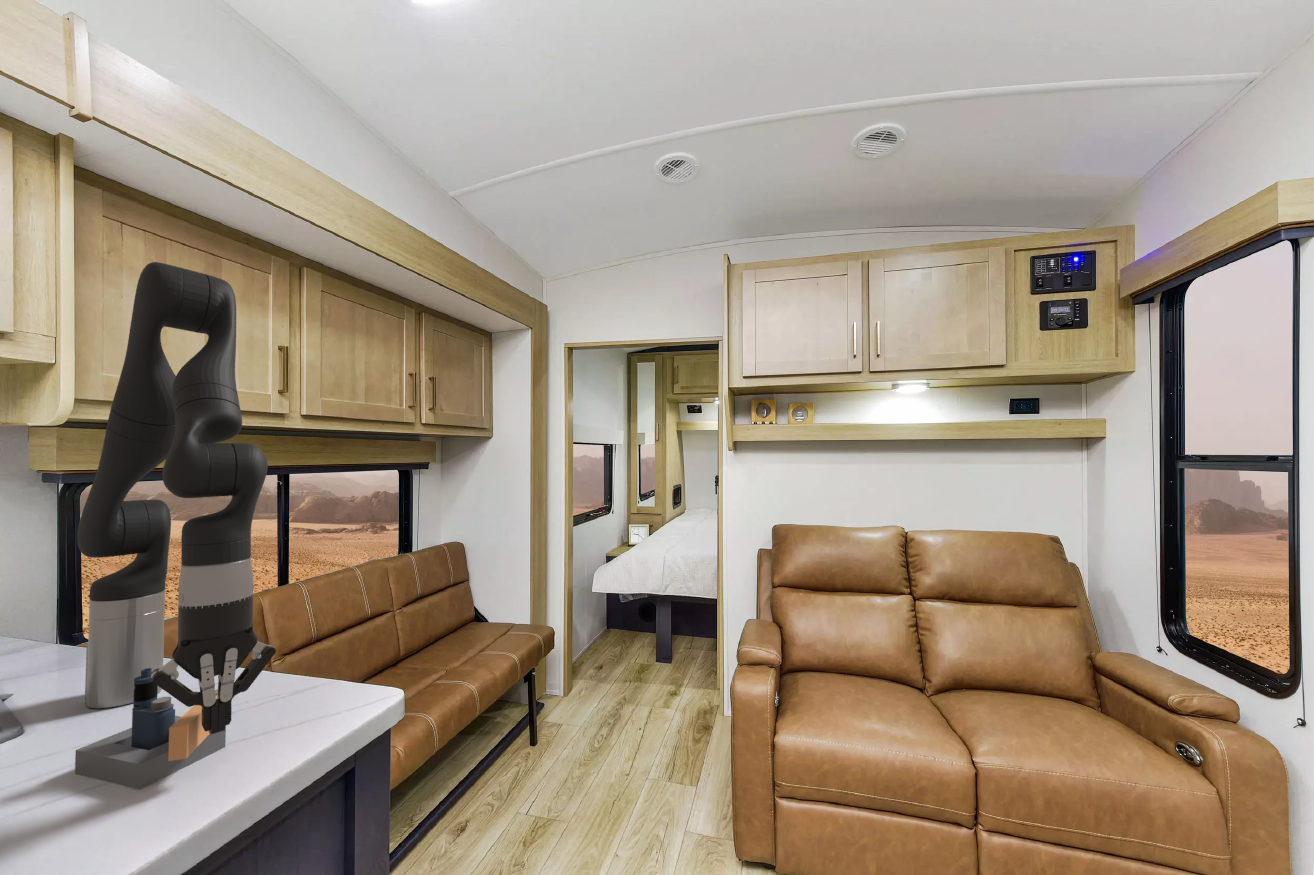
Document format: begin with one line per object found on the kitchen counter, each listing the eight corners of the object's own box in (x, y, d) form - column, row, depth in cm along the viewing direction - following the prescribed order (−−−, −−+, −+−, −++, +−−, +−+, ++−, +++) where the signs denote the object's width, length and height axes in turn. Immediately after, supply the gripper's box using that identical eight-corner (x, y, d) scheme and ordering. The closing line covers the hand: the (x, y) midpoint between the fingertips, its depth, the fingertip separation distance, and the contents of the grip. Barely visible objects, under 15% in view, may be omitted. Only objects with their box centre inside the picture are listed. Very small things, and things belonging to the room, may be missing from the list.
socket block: (74, 773, 69) (75, 748, 69) (167, 733, 79) (168, 711, 79) (139, 789, 65) (140, 763, 66) (227, 745, 75) (228, 722, 75)
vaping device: (146, 754, 73) (149, 665, 74) (178, 757, 72) (181, 667, 73) (125, 764, 71) (127, 672, 71) (157, 768, 70) (160, 675, 70)
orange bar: (207, 719, 76) (208, 690, 76) (228, 716, 77) (229, 688, 77) (165, 761, 65) (166, 728, 65) (189, 758, 66) (190, 725, 66)
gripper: (271, 582, 77) (271, 704, 76) (144, 602, 67) (143, 742, 67) (284, 590, 72) (284, 720, 71) (149, 613, 62) (148, 764, 62)
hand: (216, 730), depth 69 cm, fingers closed
